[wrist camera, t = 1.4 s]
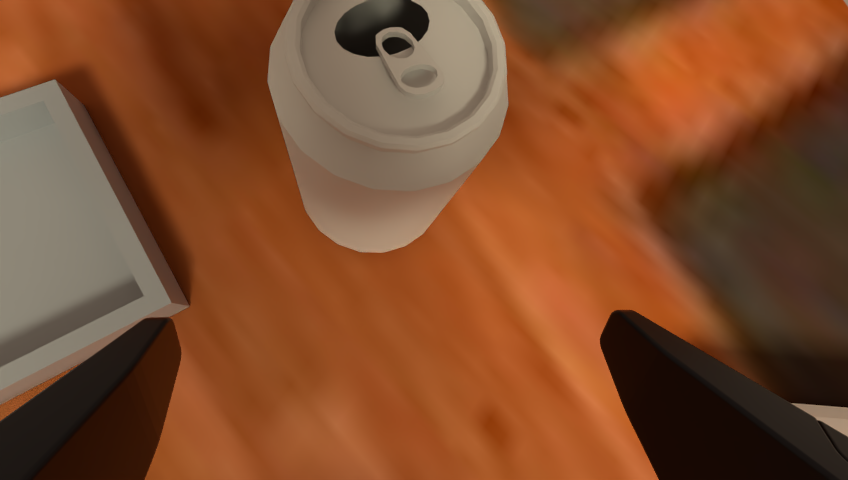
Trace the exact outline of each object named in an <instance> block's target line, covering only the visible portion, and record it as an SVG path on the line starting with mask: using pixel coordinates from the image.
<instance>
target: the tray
mask: <svg viewBox="0 0 848 480" xmlns="http://www.w3.org/2000/svg"><path fill="white" fill-rule="evenodd" d="M188 307H189V304H188V302H187V300H186V298H185V296H184V294H183V292H182V290H181V288H180V287H179V285H178V283H177V281H176V279H175V277H174V275H173V273H172V271H171V269H170V268H169V266H168V264H167V262H166V260H165V258H164V256H163V254H162V252H161V250H160V249H159V247H158V245H157V243H156V241H155V239H154V237H153V235H152V233H151V231H150V230H149V228H148V226H147V224H146V222H145V220H144V218H143V216H142V214H141V212H140V211H139V209H138V207H137V205H136V203H135V201H134V199H133V197H132V195H131V193H130V191H129V190H128V188H127V186H126V184H125V182H124V180H123V178H122V176H121V174H120V172H119V171H118V169H117V167H116V165H115V163H114V161H113V159H112V157H111V155H110V153H109V152H108V150H107V148H106V146H105V144H104V142H103V140H102V138H101V136H100V134H99V133H98V131H97V129H96V127H95V125H94V123H93V121H92V119H91V117H90V115H89V113H88V112H87V110H86V108H85V106H84V105H83V104H82V103H81V102H80V101H79V100H78V99H77V98H76V97H74V96H73V95H72V94H71V93H70V92H69V91H68V90H67V89H65V88H64V87H63V86H62V85H61V84H60V83H59V82H58V81H56V80H55V79H54V80H51V81H48V82H45V83H42V84H39V85H36V86H33V87H31V88H28V89H25V90H22V91H19V92H16V93H13V94H10V95H7V96H4V97H1V98H0V405H1V404H2V403H4V402H6V401H8V400H10V399H12V398H14V397H16V396H18V395H20V394H22V393H24V392H26V391H28V390H29V389H31V388H33V387H35V386H37V385H39V384H41V383H43V382H45V381H47V380H49V379H51V378H53V377H55V376H56V375H58V374H60V373H62V372H64V371H66V370H68V369H70V368H72V367H74V366H76V365H78V364H80V363H82V362H83V361H85V360H87V359H88V358H89V357H91V356H92V355H94V354H95V353H96V352H98V351H99V350H101V349H102V348H103V347H105V346H106V345H108V344H109V343H110V342H112V341H113V340H115V339H116V338H117V337H119V336H120V335H122V334H123V333H124V332H126V331H127V330H129V329H130V328H131V327H133V326H134V325H136V324H137V323H138V322H140V321H141V320H143V319H145V318H149V317H170V316H172V315H174V314H176V313H178V312H180V311H182V310H184V309H186V308H188Z"/></svg>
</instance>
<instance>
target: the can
mask: <svg viewBox="0 0 848 480" xmlns="http://www.w3.org/2000/svg"><path fill="white" fill-rule="evenodd" d="M506 75H507V66H506V50H505V43H504V40H503V38H502V35H501V33H500V30H499V28H498V25H497V22H496V20H495V17H494V15H493V14H492V13H491V11H490V10H489V9H488V8H487V6H486V5H485V4H484V2H483V1H482V0H293V2H292V4H291V6H290V8H289V10H288V12H287V14H286V16H285V18H284V20H283V22H282V24H281V26H280V28H279V30H278V32H277V34H276V36H275V38H274V40H273V42H272V44H271V46H270V56H269V68H268V81H267V82H268V85H269V89H270V92H271V96H272V99H273V103H274V106H275V109H276V113H277V116H278V120H279V123H280V126H281V130H282V133H283V137H284V140H285V143H286V147H287V150H288V153H289V157H290V160H291V163H292V167H293V170H294V174H295V177H296V180H297V184H298V187H299V190H300V194H301V197H302V201H303V204H304V207H305V211H306V213H307V214H308V215H309V217H310V218H311V220H312V221H313V222H314V224H315V225H316V227H317V228H318V230H319V231H321V232H322V233H323V234H325V235H326V236H327V237H329V238H330V239H331V240H333V241H334V242H335V243H337V244H338V245H341V246H344V247H347V248H350V249H353V250H356V251H359V252H379V253H384V252H387V251H391V250H394V249H398V248H401V247H404V246H406V245H408V244H409V243H411V242H412V241H414V240H415V239H416V238H418V237H419V236H421V235H422V234H423V233H424V232H425V231H426V230H427V228H428V227H429V226H430V225H431V223H432V222H433V221H434V220H435V218H436V217H437V216H438V214H439V213H440V212H441V211H442V209H443V208H444V207H445V206H446V204H447V203H448V202H449V201H450V199H451V198H452V197H453V196H454V194H455V193H456V192H457V191H458V189H459V188H460V187H461V186H462V184H463V183H464V182H465V181H466V179H467V178H468V177H469V175H470V174H471V173H472V172H473V170H474V169H475V168H476V167H477V165H478V164H479V163H480V162H481V160H482V159H483V158H484V156H485V155H486V153H487V152H488V151H489V149H490V148H491V147H492V145H493V144H494V143H495V141H496V140H497V139H498V137H499V136H500V132H501V129H502V125H503V122H504V118H505V115H506V111H507V108H508V92H507V76H506Z"/></svg>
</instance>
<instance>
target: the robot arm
mask: <svg viewBox="0 0 848 480" xmlns="http://www.w3.org/2000/svg"><path fill="white" fill-rule="evenodd" d="M600 345H601V349H602V352H603V354H604V357H605V360H606V362H607V365H608V367H609V370H610V373H611V375H612V378H613V381H614V383H615V386H616V389H617V391H618V394H619V397H620V399H621V402H622V404H623V406H624V409H625V411H626V413H627V416H628V418H629V420H630V422H631V424H632V426H633V428H634V430H635V432H636V434H637V436H638V438H639V440H640V442H641V444H642V446H643V448H644V450H645V452H646V454H647V456H648V458H649V460H650V462H651V465H652V467H653V469H654V471H655V473H656V475H657V477H658V479H659V480H848V436H846V435H844V434H842V433H841V432H839V431H837V430H836V429H834V428H832V427H831V426H829V425H827V424H825V423H824V422H822V421H820V420H816V418H815V417H813V416H812V415H810V414H808V413H807V412H805V411H803V410H802V409H800V408H798V407H796V406H795V405H793V404H791V403H790V402H788V401H786V400H785V399H783V398H781V397H779V396H778V395H776V394H774V393H773V392H771V391H769V390H768V389H766V388H764V387H762V386H761V385H759V384H757V383H756V382H754V381H752V380H751V379H749V378H747V377H745V376H744V375H742V374H740V373H739V372H737V371H735V370H734V369H732V368H730V367H729V366H727V365H725V364H723V363H722V362H720V361H718V360H717V359H715V358H713V357H712V356H710V355H708V354H706V353H705V352H703V351H701V350H700V349H698V348H696V347H695V346H693V345H691V344H689V343H688V342H686V341H684V340H683V339H681V338H679V337H678V336H676V335H674V334H672V333H671V332H669V331H667V330H666V329H664V328H662V327H661V326H659V325H657V324H656V323H654V322H652V321H650V320H649V319H647V318H645V317H644V316H642V315H640V314H639V313H637V312H635V311H633V310H616V311H614V312H612V313H611V315H610V317H609V319H608V321H607V323H606V325H605V328H604V330H603V332H602V334H601V337H600ZM180 361H181V347H180V343H179V340H178V336H177V332H176V329H175V325H174V322H173V320H172V319H171V318H168V317H149V318H145V319H143V320H141V321H140V322H138V323H137V324H136V325H134V326H133V327H131V328H130V329H129V330H127V331H126V332H124V333H123V334H122V335H120V336H119V337H117V338H116V339H115V340H113V341H112V342H110V343H109V344H108V345H106V346H105V347H103V348H102V349H101V350H99V351H98V352H96V353H95V354H94V355H92V356H91V357H89V358H88V359H87V360H85V361H84V362H82V363H81V364H80V365H78V366H77V367H75V368H74V369H73V370H71V371H70V372H68V373H67V374H66V375H64V376H63V377H61V378H60V379H59V380H57V381H56V382H54V383H53V384H52V385H50V386H49V387H47V388H46V389H45V390H43V391H42V392H40V393H39V394H38V395H36V396H35V397H33V398H32V399H31V400H29V401H28V402H26V403H25V404H24V405H22V406H21V407H19V408H18V409H17V410H15V411H14V412H12V413H11V414H10V415H8V416H7V417H5V418H4V419H3V420H1V421H0V480H145V477H146V475H147V472H148V469H149V467H150V464H151V462H152V459H153V457H154V454H155V451H156V448H157V446H158V443H159V440H160V436H161V433H162V429H163V426H164V422H165V418H166V414H167V411H168V407H169V403H170V399H171V395H172V391H173V388H174V384H175V380H176V376H177V372H178V369H179V365H180Z"/></svg>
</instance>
